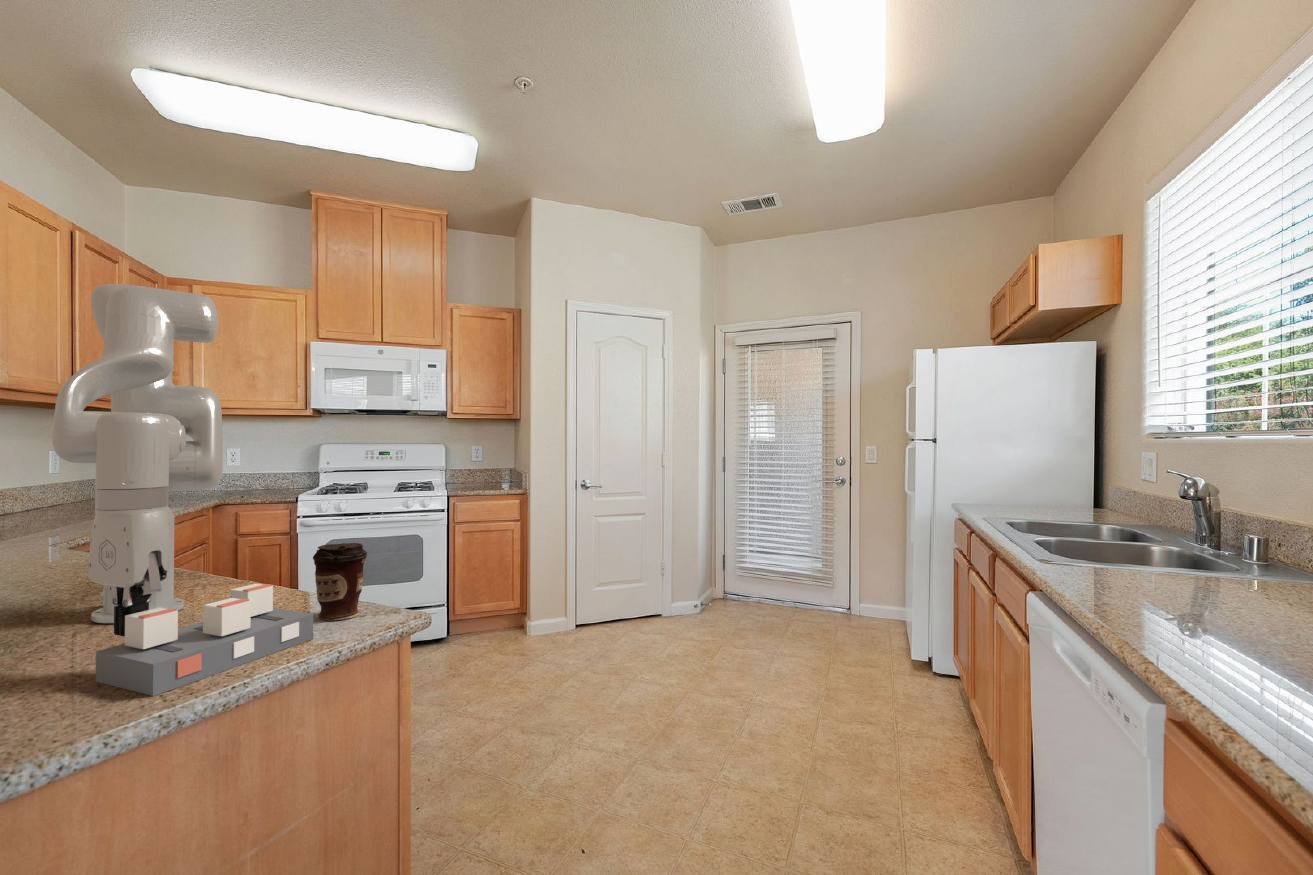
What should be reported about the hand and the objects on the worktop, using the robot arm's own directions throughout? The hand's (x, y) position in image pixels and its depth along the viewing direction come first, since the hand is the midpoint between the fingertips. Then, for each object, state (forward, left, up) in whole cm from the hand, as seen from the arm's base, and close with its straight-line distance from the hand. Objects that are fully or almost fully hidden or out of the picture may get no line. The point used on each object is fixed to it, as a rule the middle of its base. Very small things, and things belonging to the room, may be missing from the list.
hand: (131, 632), depth 79 cm
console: (+6, +7, -5) cm, 11 cm away
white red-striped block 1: (+9, +7, -1) cm, 11 cm away
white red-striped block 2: (+4, +14, -1) cm, 15 cm away
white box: (+4, 0, -1) cm, 4 cm away
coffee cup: (+6, +28, -6) cm, 29 cm away
